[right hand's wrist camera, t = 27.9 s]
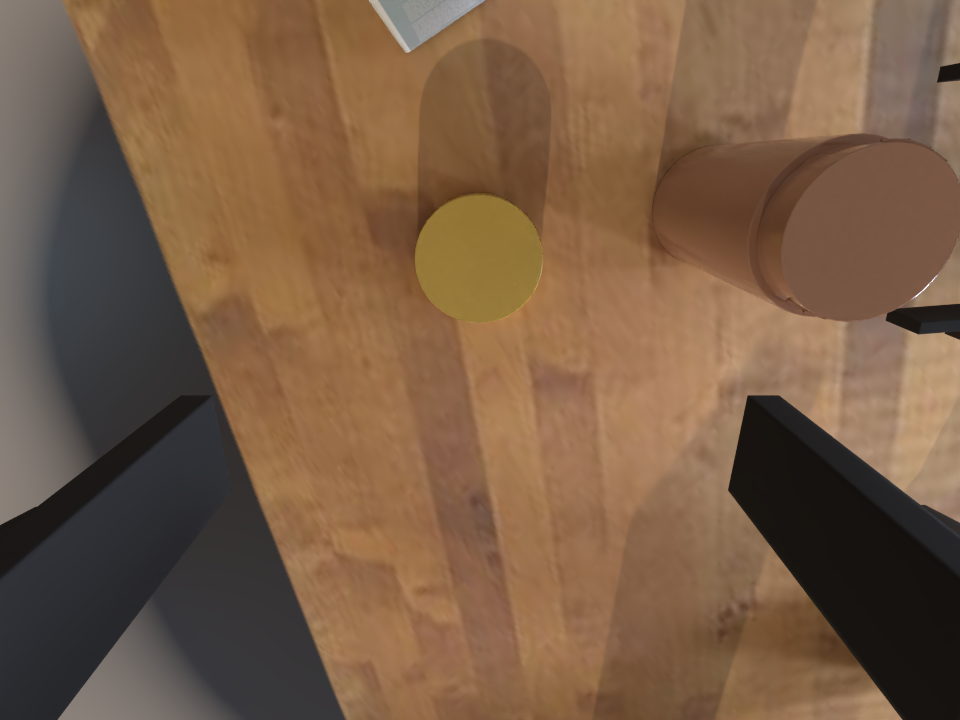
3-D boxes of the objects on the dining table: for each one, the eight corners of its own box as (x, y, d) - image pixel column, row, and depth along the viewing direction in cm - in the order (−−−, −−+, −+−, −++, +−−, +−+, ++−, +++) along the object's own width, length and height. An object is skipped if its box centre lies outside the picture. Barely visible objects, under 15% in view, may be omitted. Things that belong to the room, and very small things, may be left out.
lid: (426, 180, 36) (422, 182, 34) (552, 203, 37) (556, 206, 34) (410, 304, 39) (406, 312, 37) (526, 323, 40) (529, 333, 38)
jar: (754, 265, 38) (935, 331, 23) (644, 263, 38) (753, 328, 23) (779, 146, 35) (1005, 132, 20) (660, 143, 35) (797, 128, 20)
